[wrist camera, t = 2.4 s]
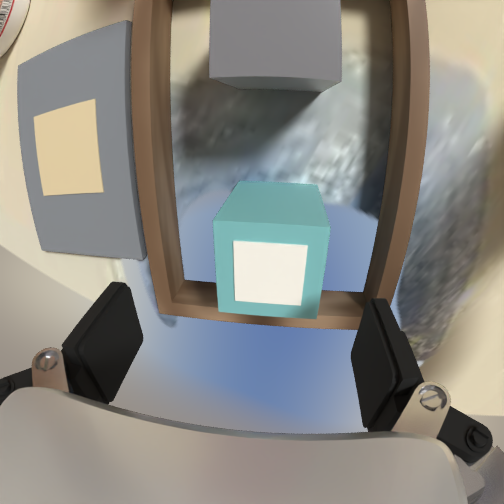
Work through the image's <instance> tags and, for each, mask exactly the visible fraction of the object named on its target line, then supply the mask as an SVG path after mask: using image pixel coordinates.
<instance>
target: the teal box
mask: <svg viewBox="0 0 504 504" xmlns="http://www.w3.org/2000/svg"><path fill="white" fill-rule="evenodd" d="M330 228H331V227H330V224H329V221H328V217H327V214H326V211H325V207H324V204H323V201H322V198H321V195H320V192H319V189H318V186H317V185H313V184H298V183H281V182H260V181H239V182H238V184H237V185H236V186H235V188H234V189H233V191H232V192H231V194H230V195H229V197H228V198H227V200H226V201H225V203H224V204H223V206H222V207H221V209H220V210H219V212H218V213H217V215H216V216H215V218H214V219H213V236H214V253H215V269H216V284H217V297H218V310H219V312H226V313H236V314H247V315H259V316H272V317H286V318H302V319H317V314H318V308H319V303H320V297H321V291H322V285H323V278H324V272H325V265H326V258H327V251H328V244H329V237H330Z"/></svg>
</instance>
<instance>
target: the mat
mask: <svg viewBox="0 0 504 504" xmlns="http://www.w3.org/2000/svg"><path fill="white" fill-rule="evenodd" d="M131 31H132V22H130V21H127V20H125V21H122V22H118V23H115V24H112V25H109V26H106V27H103V28H100V29H97V30H94V31H92V32H89V33H86V34H84V35H81V36H79V37H76V38H74V39H71V40H69V41H67V42H64V43H62V44H60V45H58V46H56V47H53V48H51V49H49V50H47V51H45V52H43V53H41V54H39V55H37V56H35V57H33V58H31V59H30V60H28V61H26V62H24V63H22V64H21V65H19V66H18V81H17V98H18V122H19V135H20V146H21V154H22V162H23V169H24V175H25V181H26V186H27V192H28V197H29V202H30V206H31V211H32V215H33V219H34V223H35V227H36V231H37V235H38V238H39V242H40V245H41V249H42V250H43V251H52V252H62V253H72V254H82V255H93V256H103V257H114V258H126V259H137V260H143V259H144V258H145V257H146V256H147V252H146V247H145V241H144V234H143V228H142V221H141V214H140V207H139V199H138V191H137V182H136V173H135V162H134V151H133V137H132V120H131V88H130V61H131Z"/></svg>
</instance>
